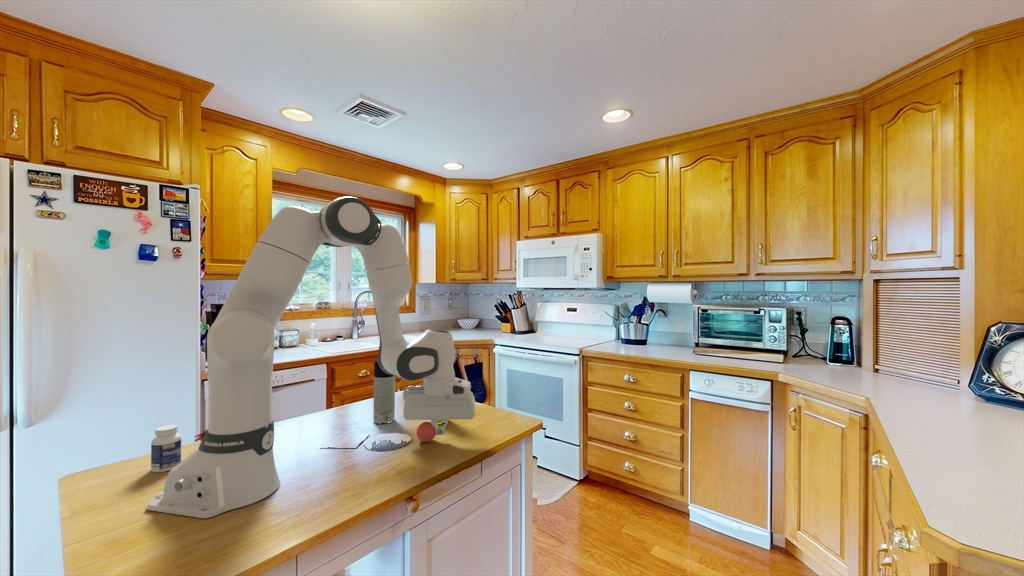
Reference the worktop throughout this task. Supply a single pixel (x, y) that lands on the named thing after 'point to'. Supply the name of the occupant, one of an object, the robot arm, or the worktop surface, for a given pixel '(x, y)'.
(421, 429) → the ball
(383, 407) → the spray can
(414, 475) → the worktop surface
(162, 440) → the pill bottle
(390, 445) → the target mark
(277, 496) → the worktop surface
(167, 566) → the worktop surface
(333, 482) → the worktop surface
